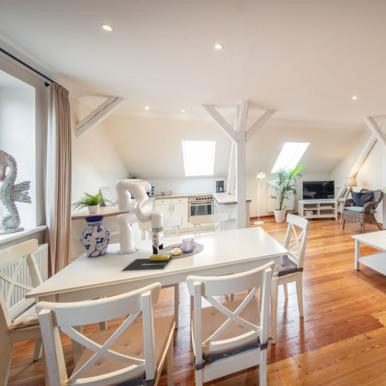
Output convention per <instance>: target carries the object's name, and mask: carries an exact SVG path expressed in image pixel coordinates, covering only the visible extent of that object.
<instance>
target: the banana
mask: <svg viewBox="0 0 386 386" xmlns="http://www.w3.org/2000/svg"><path fill="white" fill-rule="evenodd" d="M169 258H172V259H173V257H172V256H170V255H169V254H157V255H153V254H152V255H150V256H149V257H148V259H149V260H150V261H164V260H168V259H169Z"/></svg>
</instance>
